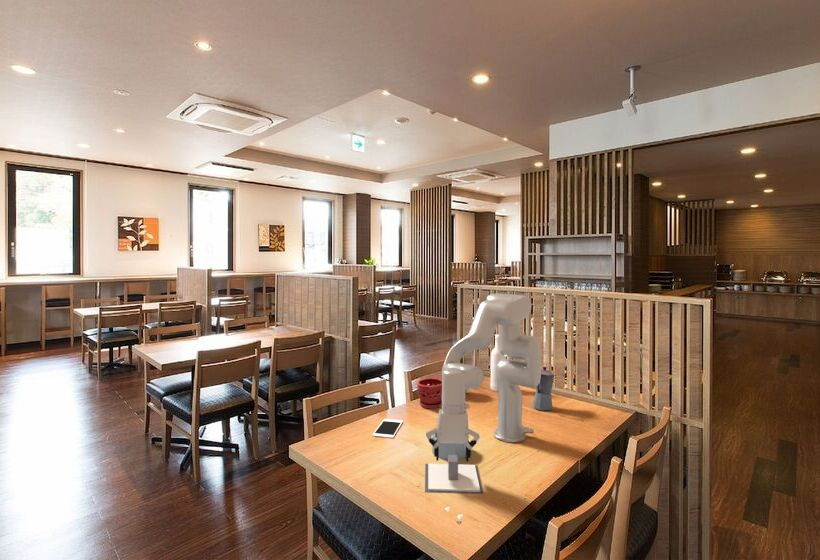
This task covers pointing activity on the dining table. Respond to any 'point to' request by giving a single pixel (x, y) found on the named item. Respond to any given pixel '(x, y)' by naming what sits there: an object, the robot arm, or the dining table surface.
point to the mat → (452, 491)
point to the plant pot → (430, 392)
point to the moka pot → (544, 391)
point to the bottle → (495, 363)
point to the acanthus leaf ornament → (458, 515)
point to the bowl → (450, 449)
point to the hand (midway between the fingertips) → (452, 459)
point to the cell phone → (388, 428)
